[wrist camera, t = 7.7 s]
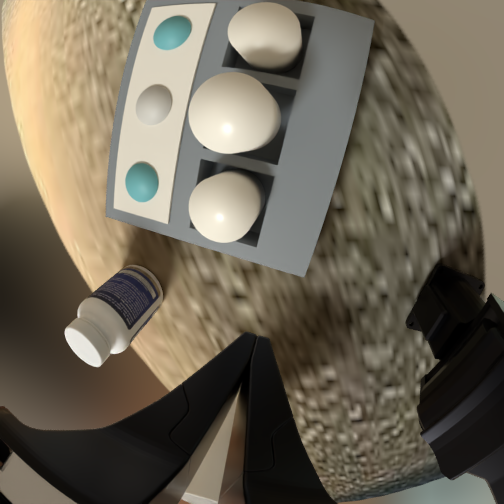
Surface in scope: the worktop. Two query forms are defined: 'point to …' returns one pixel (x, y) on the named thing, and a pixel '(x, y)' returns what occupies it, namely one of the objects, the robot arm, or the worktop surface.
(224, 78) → the button
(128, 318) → the pill bottle
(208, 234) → the button
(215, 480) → the white tall cylinder
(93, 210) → the worktop surface
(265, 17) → the button
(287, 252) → the button board
